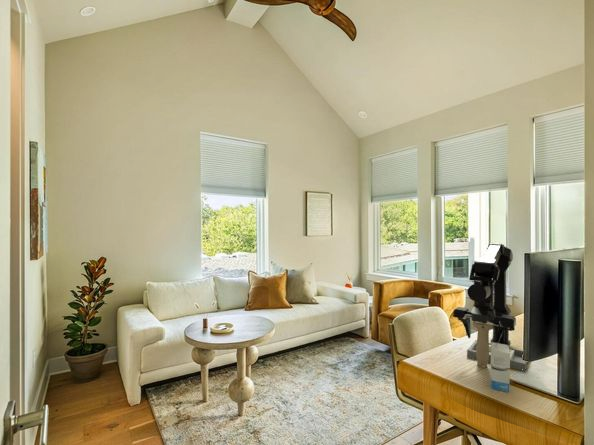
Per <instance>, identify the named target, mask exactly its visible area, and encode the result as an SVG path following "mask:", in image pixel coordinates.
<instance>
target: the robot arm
mask: <svg viewBox="0 0 594 445" xmlns="http://www.w3.org/2000/svg"><path fill="white" fill-rule="evenodd" d="M487 245H488V247H487V248H486V251H485V253H484V255H483V256H482V257H479V258H476V259H475V261H474V262H472V264H471V268H470V269H471V270H470V274H469V278H468V280H469V281H473V283H472V284H471V285H469V287H467V288H468V289H467V295H468V296H467V297H468V298H469V299H470V300H471V301H473V306H472V309H471V311H470V310H469V308H468V307H461V306H458V307H456V308H455V309H453V310H452V311H453V312H452V316H453V318H456V319H457V321H460V322H461V323H462V324H463V327H464V330H465V332H466V336H467V338H468V339H471V334H472V333H471V332H472V331H471V321H472V322H473V321H474V322H482V323H487V322H489V323H493V324H494V329H492V338H491V339H490V340H489V343H491V342H494V343H500V344H505V345H508V346H510V343H512V342H511V340H509V337H510V332H513V331H515V328H516V325H517V317H515V316H514V315H512V311H511V308H510V307H509V306H508V304H507V270H508V268H509V267H510V266H511V265H512V262H513V258H514V256H513V255H514V254H513V251H512V249H510V248H508V247H507V246H505V244H502V243H496V242H495V243H494V242H490V243H488V244H487Z"/></svg>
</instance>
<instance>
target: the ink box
mask: <svg viewBox="0 0 594 445" xmlns="http://www.w3.org/2000/svg"><path fill="white" fill-rule="evenodd" d="M490 343H491V362H490V365H489V366H490V370H489V372H490V373H489V374H490V375H489V380H490V388H491V389H492V390H497V391H501V392H506V393H510V383H511V382H510V378H511V376H510V375H511V368H510V351H509V346H510V345H509V346H508V345H505V344H500V343H494V342H490Z"/></svg>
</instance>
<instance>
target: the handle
mask: <svg viewBox="0 0 594 445" xmlns="http://www.w3.org/2000/svg"><path fill="white" fill-rule="evenodd" d="M472 325H473V327H474V328H475V329H477V337H476V338H477V339H476V340H477V345H476V357H477V359H476V364H477V366H479V367H482V368H487V367H488V363H489V362H488V359H489V343H490V340H489V339H490V335H489V334H490V331H491V330H492V331H493V329H494V324H493V323H489V322H487V323H482V322H474V321H472Z"/></svg>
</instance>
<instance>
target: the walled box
mask: <svg viewBox="0 0 594 445" xmlns="http://www.w3.org/2000/svg"><path fill="white" fill-rule="evenodd" d="M476 345H477V339H475V340H474V341H473V342H472V343H471V345H470V346H469V347H468V348H467V349H466V350H467V351H466V357H467V358H472V359H476V360H477V357H476ZM509 351H510V369H515V370H519V371H522V369H523V370H525V369H526V368H527V367H526V366H528V363H529V361H528V362H526V361H523V360H522V355H523V351H524V350H522V349H519V348H514V347H509ZM488 363H491V342H489V359H488ZM526 370H527V369H526ZM526 370H525V371H526Z"/></svg>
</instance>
